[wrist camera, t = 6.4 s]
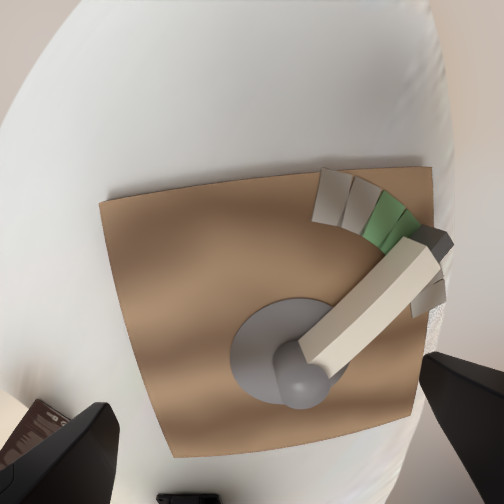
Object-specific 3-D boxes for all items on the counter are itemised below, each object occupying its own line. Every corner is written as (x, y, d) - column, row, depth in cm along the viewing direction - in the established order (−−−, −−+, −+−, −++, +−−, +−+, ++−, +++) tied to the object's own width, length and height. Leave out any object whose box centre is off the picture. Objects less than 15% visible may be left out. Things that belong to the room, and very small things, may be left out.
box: (34, 394, 21) (-28, 491, 9) (77, 423, 22) (30, 530, 10) (25, 427, 22) (-24, 511, 10) (63, 452, 22) (24, 543, 11)
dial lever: (292, 384, 20) (302, 416, 17) (262, 361, 19) (269, 393, 16) (436, 245, 18) (466, 257, 15) (414, 213, 17) (445, 221, 14)
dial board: (418, 402, 24) (424, 411, 22) (175, 447, 23) (173, 459, 21) (437, 162, 19) (449, 162, 17) (105, 196, 18) (96, 198, 16)
